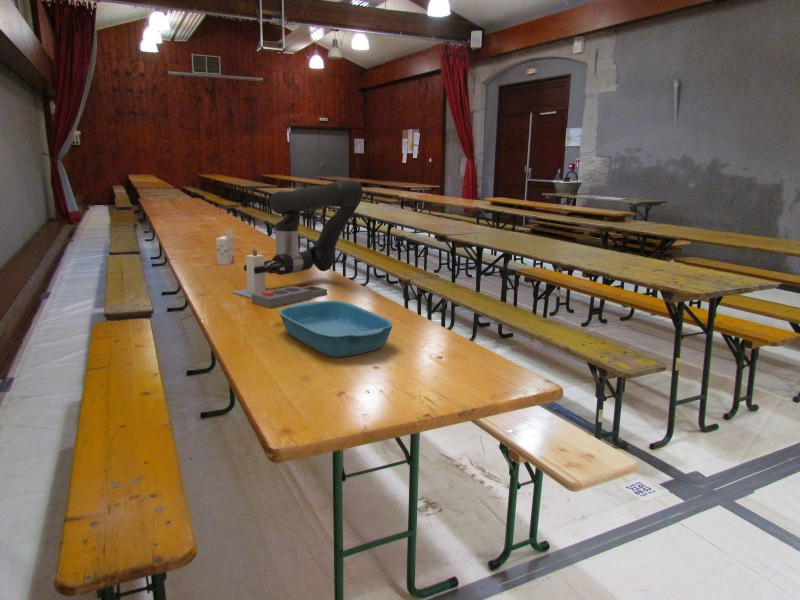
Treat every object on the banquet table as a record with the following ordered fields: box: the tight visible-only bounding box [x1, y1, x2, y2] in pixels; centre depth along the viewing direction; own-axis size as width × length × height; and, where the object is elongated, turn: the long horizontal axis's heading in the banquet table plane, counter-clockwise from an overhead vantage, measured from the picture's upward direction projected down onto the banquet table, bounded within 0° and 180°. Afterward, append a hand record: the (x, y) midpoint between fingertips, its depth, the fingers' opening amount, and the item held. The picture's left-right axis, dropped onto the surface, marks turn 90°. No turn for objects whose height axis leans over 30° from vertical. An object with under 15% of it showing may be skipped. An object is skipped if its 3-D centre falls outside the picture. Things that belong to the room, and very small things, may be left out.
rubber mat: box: [231, 287, 272, 299], centre depth 201 cm, size 12×12×1 cm
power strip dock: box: [251, 285, 328, 309], centre depth 195 cm, size 26×9×4 cm, turn 141°
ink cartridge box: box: [215, 229, 235, 266], centre depth 250 cm, size 9×5×15 cm, turn 179°
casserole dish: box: [278, 300, 393, 358], centre depth 154 cm, size 37×22×7 cm, turn 36°
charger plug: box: [245, 249, 266, 293], centre depth 199 cm, size 4×4×15 cm
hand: (249, 269), depth 197 cm, fingers open, 5 cm apart
